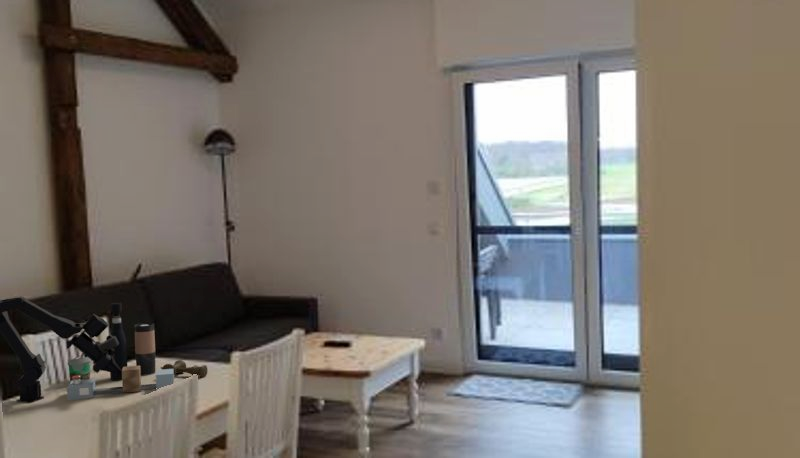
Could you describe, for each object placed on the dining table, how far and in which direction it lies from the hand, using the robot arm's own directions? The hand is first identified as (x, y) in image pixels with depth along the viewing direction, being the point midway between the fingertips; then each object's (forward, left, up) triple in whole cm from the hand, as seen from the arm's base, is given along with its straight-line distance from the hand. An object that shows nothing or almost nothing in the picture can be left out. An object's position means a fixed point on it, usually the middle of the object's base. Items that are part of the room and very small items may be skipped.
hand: (121, 373), depth 266 cm
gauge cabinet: (-8, +11, -7) cm, 15 cm away
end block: (+9, -12, -7) cm, 16 cm away
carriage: (+2, -3, -7) cm, 7 cm away
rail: (+1, -1, -7) cm, 7 cm away
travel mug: (+25, +9, -7) cm, 28 cm away
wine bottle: (+15, +14, -7) cm, 22 cm away
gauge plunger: (-9, +13, -4) cm, 16 cm away
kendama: (+25, -8, -7) cm, 27 cm away
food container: (+8, +25, -7) cm, 28 cm away
